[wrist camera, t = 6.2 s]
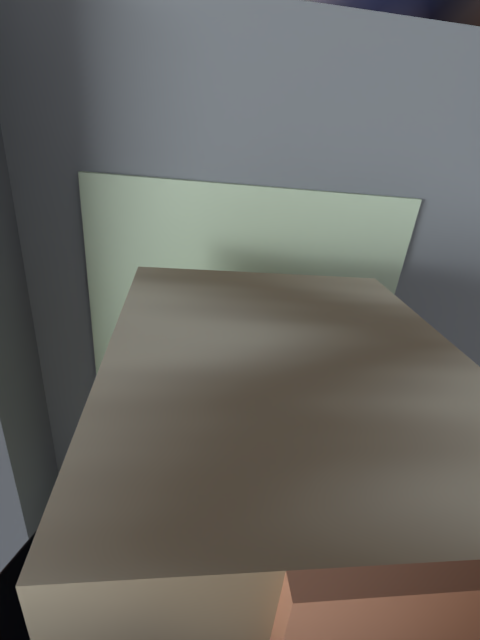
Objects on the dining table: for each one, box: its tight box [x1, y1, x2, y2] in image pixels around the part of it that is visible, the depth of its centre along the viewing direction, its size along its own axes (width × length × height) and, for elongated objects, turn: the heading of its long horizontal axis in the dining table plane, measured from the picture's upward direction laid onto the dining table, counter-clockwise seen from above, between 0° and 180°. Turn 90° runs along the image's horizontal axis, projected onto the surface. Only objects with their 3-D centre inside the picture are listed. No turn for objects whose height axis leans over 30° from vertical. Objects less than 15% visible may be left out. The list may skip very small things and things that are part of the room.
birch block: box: [15, 267, 480, 640], centre depth 7 cm, size 5×7×6 cm
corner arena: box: [0, 0, 480, 572], centre depth 10 cm, size 15×17×3 cm
